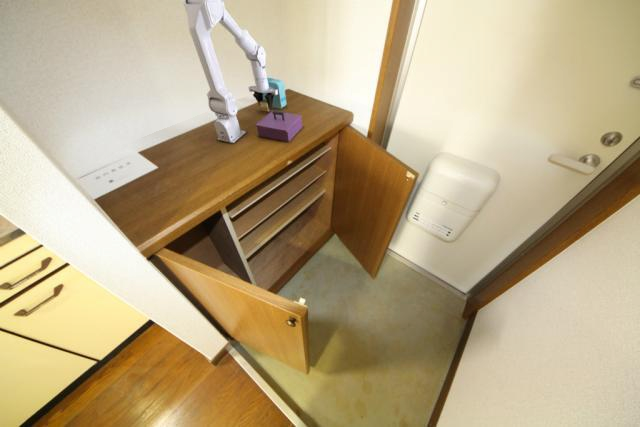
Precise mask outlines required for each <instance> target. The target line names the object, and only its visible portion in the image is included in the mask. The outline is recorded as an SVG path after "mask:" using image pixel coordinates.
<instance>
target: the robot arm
mask: <svg viewBox="0 0 640 427" xmlns="http://www.w3.org/2000/svg"><path fill="white" fill-rule="evenodd" d="M182 4H183V6H184V9H185V11H186V16H187V26H188V27H187V28H188V31H189V33H190V36H191V39H192V42H193V45H194V48H195V51H196V53H197V57H198V59H199V61H200V64H201V68H202V70H203V72H204V75H205V79H206V81H207V84H208V87H209V91H208V92H207V93H206V96H207V103H208V107H209V110H210V111H211V112H213V113H214V115H215V117H216V119H215V121H214V122H213V128H214V129H215V132H216V135H217V140H218V141H222V142H227V143H231V144H234V143H235V142H236V141H238V140H239V139H240V138H241V137H243V136H245V135H246V133H247V131H246V130H242V129H241V127H240V123H239V120H238V116H237V115H238V110H239V105H238V103H237V101H236V99H235V97H234V95H233V93H232V92H231V91H230V90H229V89H228V88H227V86H226V83H225V80H224V76H223V74H222V70H221V67H220V63H219V60H218V58H217V54H216V51H215V47H214V44H213V41H212V37H211V32H212V30H213V29H214V28H215V27H216V25H218V23H219V24H220V25H221V26H222V27H223V28H224V29H225V30H227V32H229V33H230V34H231V35H232V36H233V37H234V38H233V39H234V42H235V44H236V45H237V46H238V47H239V48H240V49H241V50H242V51H243V52H244V54H245V57H246V59H247V60H249V62H250V66H251V70H252V75H253V79H254V80H253V81H254V83H255V85H250V86H248V87H247V88H248V92H250V93H252V92H253V94H252V97H254V99H255V100H256V101H257V103H258V105H259V106H260V102H261V101H262V100H263V93H267V94H266V95H265V99H266V101H267V104H268V108H269V110H270V111H272V109H273V107H272V103H273V98H274V95H277V94H278V90H277V89H273V88H271V87H269V85H268V80H267V77H268V75H267V70H266V69H267V68H266V64H267V62H266V58H267V52H266V50H265V48H264V47H263V46H262V45H261V44H258V43H257V42H256V40H255V39H254V38H253V37H252V36H251V34H250V33H249V30H248V29H245V28H240V27H239V25H238V24H237V22H236V21H235V20H234V18H233V17H232V15H231V14H230V13H229V12H228V10H227V9H226V5H225V2H224V1H223V0H183V2H182Z"/></svg>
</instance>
